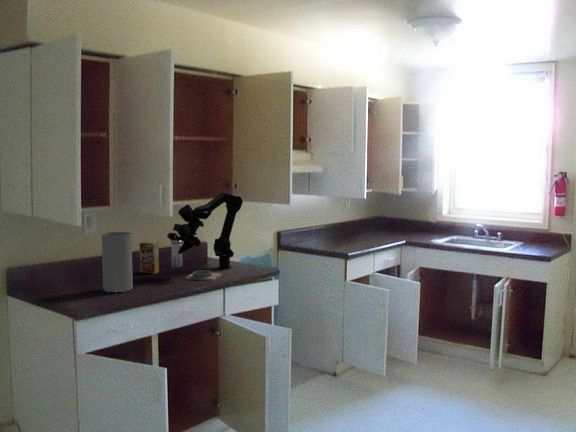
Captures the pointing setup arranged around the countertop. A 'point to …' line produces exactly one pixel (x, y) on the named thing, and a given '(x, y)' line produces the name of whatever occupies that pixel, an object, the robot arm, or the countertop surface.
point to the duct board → (213, 277)
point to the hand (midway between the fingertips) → (174, 253)
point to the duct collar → (202, 274)
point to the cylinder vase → (117, 261)
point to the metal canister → (176, 253)
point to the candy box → (149, 257)
